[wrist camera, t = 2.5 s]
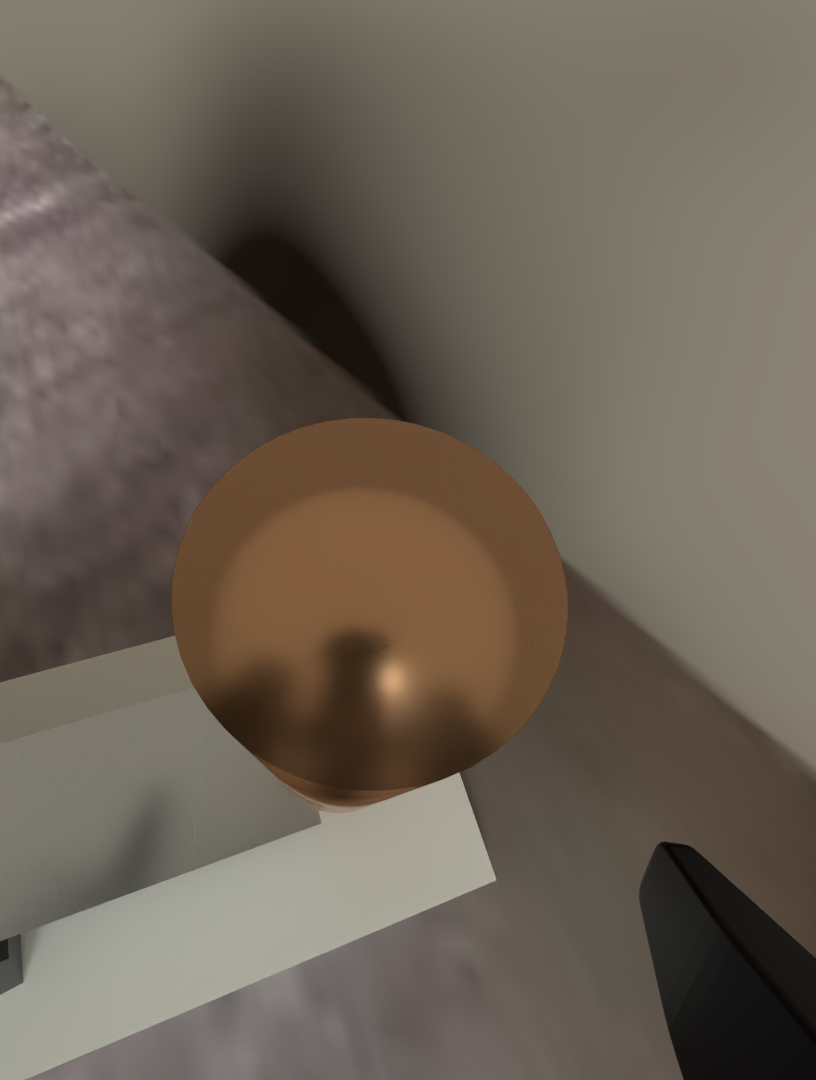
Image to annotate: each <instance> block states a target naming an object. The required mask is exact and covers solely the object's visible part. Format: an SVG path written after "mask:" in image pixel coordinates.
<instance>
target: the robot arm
mask: <svg viewBox="0 0 816 1080" xmlns="http://www.w3.org/2000/svg"><path fill="white" fill-rule="evenodd" d="M639 901H640V907H641V911H642V916H643V920H644V925H645V929H646V934H647V938H648V943H649V947H650V952H651V956H652V961H653V965H654V970H655V974H656V979H657V983H658V988H659V992H660V997H661V1001H662V1006H663V1010H664V1014H665V1018H666V1022H667V1026H668V1030H669V1034H670V1037H671V1040H672V1044H673V1047H674V1050H675V1054H676V1057H677V1060H678V1063H679V1067H680V1070H681V1073H682V1076H683V1079H684V1080H816V958H815V957H814V956H813V955H811V954H810V953H809V952H808V951H807V950H806V949H805V948H804V947H803V946H801V945H800V944H799V943H798V942H797V941H796V940H795V939H794V938H793V937H792V936H790V935H789V934H788V933H787V932H786V931H785V930H784V929H783V928H782V927H780V926H779V925H778V924H777V923H776V922H775V921H774V920H773V919H772V918H770V917H769V916H768V915H767V914H766V913H765V912H764V911H763V910H762V909H760V908H759V907H758V906H757V905H756V904H755V903H754V902H753V901H752V900H750V899H749V898H748V897H747V896H746V895H745V894H744V893H743V892H742V891H741V890H739V889H738V888H737V887H736V886H735V885H734V884H733V883H732V882H731V881H729V880H728V879H727V878H726V877H725V876H724V875H723V874H722V873H721V872H719V871H718V870H717V869H716V868H715V867H714V866H713V865H712V864H711V863H709V862H708V861H707V860H706V859H705V858H704V857H703V856H702V855H701V854H700V853H698V852H697V851H696V850H695V849H694V848H692V847H691V846H688V845H685V844H678V843H671V842H661V843H659V844H658V845H657V846H656V848H655V850H654V852H653V854H652V857H651V859H650V862H649V864H648V866H647V869H646V871H645V874H644V876H643V878H642V881H641V884H640V889H639Z"/></svg>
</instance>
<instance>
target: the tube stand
mask: <svg viewBox="0 0 816 1080" xmlns="http://www.w3.org/2000/svg"><path fill="white" fill-rule="evenodd" d="M193 687H194V686H193V685H192V683H191V681H190V678H189V676H188V674H187V671H186V669H185V667H184V664H183V662H182V659H181V657H180V653H179V649H178V645H177V641H176V638H175V636H171V637H168V638H164V639H160V640H156V641H153V642H149V643H145V644H142V645H138V646H134V647H130V648H127V649H123V650H119V651H115V652H112V653H108V654H104V655H100V656H97V657H93V658H89V659H85V660H82V661H78V662H74V663H70V664H67V665H63V666H59V667H55V668H52V669H48V670H44V671H41V672H37V673H33V674H29V675H26V676H22V677H18V678H14V679H11V680H7V681H3V682H0V744H1V743H4V742H8V741H11V740H14V739H18V738H21V737H25V736H28V735H32V734H35V733H39V732H42V731H45V730H49V729H52V728H56V727H59V726H63V725H66V724H69V723H73V722H76V721H80V720H83V719H87V718H90V717H94V716H97V715H100V714H104V713H107V712H111V711H114V710H118V709H121V708H124V707H128V706H131V705H135V704H138V703H142V702H145V701H149V700H152V699H155V698H159V697H162V696H166V695H169V694H173V693H176V692H180V691H183V690H186V689H190V688H193ZM319 813H320V817H321V821H322V823H321V824H319V825H316V826H313V827H310V828H308V829H305V830H302V831H299V832H297V833H294V834H291V835H289V836H286V837H283V838H280V839H278V840H275V841H272V842H269V843H267V844H264V845H261V846H259V847H256V848H253V849H250V850H248V851H245V852H242V853H239V854H237V855H234V856H231V857H229V858H226V859H223V860H220V861H218V862H215V863H212V864H209V865H207V866H204V867H201V868H198V869H196V870H193V871H190V872H188V873H185V874H182V875H179V876H177V877H174V878H171V879H168V880H166V881H163V882H160V883H158V884H155V885H152V886H149V887H147V888H144V889H141V890H138V891H136V892H133V893H130V894H128V895H125V896H122V897H119V898H117V899H114V900H111V901H108V902H106V903H103V904H100V905H97V906H95V907H92V908H89V909H87V910H84V911H81V912H78V913H76V914H73V915H70V916H67V917H65V918H62V919H59V920H57V921H54V922H51V923H48V924H46V925H43V926H40V927H37V928H35V929H32V930H29V931H27V932H24V933H21V934H18V935H16V936H13V937H10V938H7V939H5V940H2V941H0V1080H26V1079H28V1078H30V1077H33V1076H35V1075H37V1074H40V1073H42V1072H45V1071H47V1070H49V1069H52V1068H54V1067H56V1066H59V1065H61V1064H63V1063H66V1062H68V1061H70V1060H73V1059H75V1058H78V1057H80V1056H82V1055H85V1054H87V1053H89V1052H92V1051H94V1050H96V1049H99V1048H101V1047H104V1046H106V1045H108V1044H111V1043H113V1042H115V1041H118V1040H120V1039H122V1038H125V1037H127V1036H130V1035H132V1034H134V1033H137V1032H139V1031H141V1030H144V1029H146V1028H148V1027H151V1026H153V1025H156V1024H158V1023H160V1022H163V1021H165V1020H167V1019H170V1018H172V1017H174V1016H177V1015H179V1014H181V1013H184V1012H186V1011H189V1010H191V1009H193V1008H196V1007H198V1006H200V1005H203V1004H205V1003H207V1002H210V1001H212V1000H215V999H217V998H219V997H222V996H224V995H226V994H229V993H231V992H233V991H236V990H238V989H241V988H243V987H245V986H248V985H250V984H252V983H255V982H257V981H259V980H262V979H264V978H267V977H269V976H271V975H274V974H276V973H278V972H281V971H283V970H285V969H288V968H290V967H292V966H295V965H297V964H300V963H302V962H304V961H307V960H309V959H311V958H314V957H316V956H318V955H321V954H323V953H326V952H328V951H330V950H333V949H335V948H337V947H340V946H342V945H344V944H347V943H349V942H352V941H354V940H356V939H359V938H361V937H363V936H366V935H368V934H370V933H373V932H375V931H378V930H380V929H382V928H385V927H387V926H389V925H392V924H394V923H396V922H399V921H401V920H403V919H406V918H408V917H411V916H413V915H415V914H418V913H420V912H422V911H425V910H427V909H429V908H432V907H434V906H437V905H439V904H441V903H444V902H446V901H448V900H451V899H453V898H455V897H458V896H460V895H463V894H465V893H467V892H470V891H472V890H474V889H477V888H479V887H481V886H484V885H486V884H489V883H491V882H493V881H496V877H495V874H494V871H493V868H492V866H491V863H490V860H489V857H488V854H487V851H486V848H485V845H484V842H483V840H482V837H481V834H480V831H479V828H478V825H477V822H476V819H475V816H474V813H473V811H472V808H471V805H470V802H469V799H468V796H467V793H466V790H465V787H464V784H463V782H462V779H461V776H460V773H457V774H454V775H452V776H450V777H448V778H445V779H443V780H440V781H437V782H434V783H432V784H429V785H426V786H423V787H421V788H418V789H415V790H412V791H409V792H407V793H404V794H401V795H398V796H395V797H393V798H390V799H387V800H384V801H382V802H379V803H376V804H373V805H370V806H368V807H365V808H362V809H359V810H356V811H353V812H348V813H329V812H324V811H320V810H319Z"/></svg>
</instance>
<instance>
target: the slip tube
mask: <svg viewBox="0 0 816 1080" xmlns="http://www.w3.org/2000/svg"><path fill="white" fill-rule="evenodd" d="M171 608H172V618H173V627H174V634H175V638H176V641H177V645H178V649H179V653H180V657H181V659H182V662H183V664H184V667H185V669H186V671H187V674H188V676H189V678H190V681H191V683H192V685H193V686H194V687H193V688H190V689H186V690H183V691H180V692H176V693H173V694H169V695H166V696H162V697H159V698H155V699H152V700H149V701H145V702H142V703H138V704H135V705H131V706H128V707H124V708H121V709H118V710H114V711H111V712H107V713H104V714H100V715H97V716H94V717H90V718H87V719H83V720H80V721H76V722H73V723H69V724H66V725H63V726H59V727H56V728H52V729H49V730H45V731H42V732H39V733H35V734H32V735H28V736H25V737H21V738H18V739H14V740H11V741H8V742H4V743H1V744H0V941H2V940H5V939H7V938H10V937H13V936H16V935H18V934H21V933H24V932H27V931H29V930H32V929H35V928H37V927H40V926H43V925H46V924H48V923H51V922H54V921H57V920H59V919H62V918H65V917H67V916H70V915H73V914H76V913H78V912H81V911H84V910H87V909H89V908H92V907H95V906H97V905H100V904H103V903H106V902H108V901H111V900H114V899H117V898H119V897H122V896H125V895H128V894H130V893H133V892H136V891H138V890H141V889H144V888H147V887H149V886H152V885H155V884H158V883H160V882H163V881H166V880H168V879H171V878H174V877H177V876H179V875H182V874H185V873H188V872H190V871H193V870H196V869H198V868H201V867H204V866H207V865H209V864H212V863H215V862H218V861H220V860H223V859H226V858H229V857H231V856H234V855H237V854H239V853H242V852H245V851H248V850H250V849H253V848H256V847H259V846H261V845H264V844H267V843H269V842H272V841H275V840H278V839H280V838H283V837H286V836H289V835H291V834H294V833H297V832H299V831H302V830H305V829H308V828H310V827H313V826H316V825H319V824H321V823H322V821H321V817H320V813H319V810H320V811H324V812H329V813H348V812H353V811H356V810H359V809H362V808H365V807H368V806H370V805H373V804H376V803H379V802H382V801H384V800H387V799H390V798H393V797H395V796H398V795H401V794H404V793H407V792H409V791H412V790H415V789H418V788H421V787H423V786H426V785H429V784H432V783H434V782H437V781H440V780H443V779H445V778H448V777H450V776H452V775H454V774H457V773H459V772H461V771H463V770H465V769H468V768H470V767H472V766H473V765H475V764H477V763H478V762H480V761H481V760H483V759H484V758H486V757H488V756H489V755H491V754H492V753H494V752H495V751H496V750H498V749H499V748H500V747H501V746H502V745H503V744H505V743H506V742H507V741H508V740H509V739H510V738H512V737H513V736H514V735H515V734H516V733H517V732H518V731H519V729H520V728H521V727H522V726H523V725H524V724H525V723H526V721H527V720H528V719H529V718H530V717H531V716H532V714H533V713H534V711H535V710H536V708H537V707H538V705H539V704H540V702H541V701H542V699H543V697H544V696H545V694H546V693H547V691H548V688H549V686H550V684H551V682H552V680H553V677H554V675H555V673H556V671H557V668H558V665H559V661H560V658H561V655H562V651H563V648H564V643H565V636H566V629H567V622H568V597H567V589H566V581H565V574H564V570H563V566H562V563H561V559H560V555H559V552H558V549H557V547H556V544H555V542H554V539H553V537H552V534H551V532H550V530H549V528H548V526H547V525H546V523H545V521H544V519H543V517H542V515H541V514H540V512H539V510H538V509H537V508H536V506H535V505H534V503H533V502H532V501H531V499H530V498H529V496H528V495H527V494H526V493H525V492H524V490H523V489H522V488H521V487H520V486H519V485H518V484H517V483H516V482H515V480H514V479H513V478H512V477H511V476H510V475H509V474H507V473H506V472H505V471H504V470H503V469H502V468H501V467H499V466H498V465H497V464H496V463H495V462H494V461H492V460H491V459H489V458H488V457H486V456H485V455H484V454H482V453H480V452H479V451H478V450H476V449H474V448H473V447H471V446H469V445H467V444H465V443H464V442H462V441H460V440H458V439H456V438H454V437H451V436H449V435H447V434H444V433H442V432H440V431H437V430H434V429H430V428H427V427H424V426H421V425H417V424H414V423H408V422H403V421H397V420H391V419H379V418H348V419H341V420H333V421H326V422H322V423H318V424H314V425H310V426H306V427H302V428H300V429H297V430H294V431H292V432H289V433H286V434H284V435H281V436H279V437H277V438H275V439H273V440H271V441H269V442H268V443H266V444H264V445H262V446H260V447H259V448H257V449H256V450H254V451H253V452H251V453H250V454H248V455H247V456H245V457H244V458H242V459H241V460H240V461H239V462H238V463H237V464H235V465H234V466H233V467H232V468H231V469H230V470H228V471H227V472H226V473H225V474H224V475H223V476H222V477H221V479H220V480H219V481H218V482H217V483H216V484H215V485H214V486H213V487H212V489H211V490H210V491H209V492H208V494H207V495H206V496H205V498H204V499H203V501H202V502H201V504H200V505H199V507H198V508H197V510H196V511H195V513H194V515H193V517H192V519H191V521H190V523H189V525H188V527H187V529H186V531H185V533H184V536H183V539H182V542H181V545H180V548H179V551H178V554H177V558H176V563H175V568H174V574H173V579H172V599H171Z"/></svg>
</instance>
